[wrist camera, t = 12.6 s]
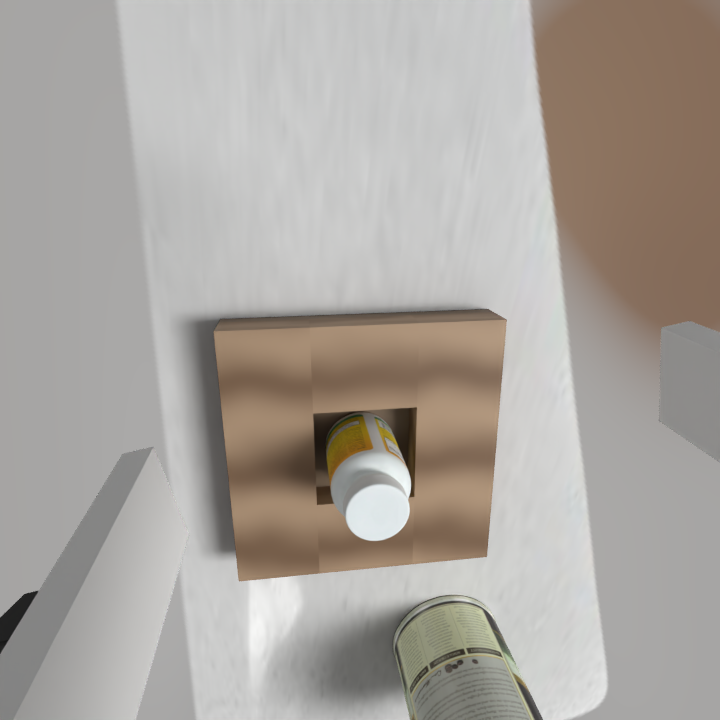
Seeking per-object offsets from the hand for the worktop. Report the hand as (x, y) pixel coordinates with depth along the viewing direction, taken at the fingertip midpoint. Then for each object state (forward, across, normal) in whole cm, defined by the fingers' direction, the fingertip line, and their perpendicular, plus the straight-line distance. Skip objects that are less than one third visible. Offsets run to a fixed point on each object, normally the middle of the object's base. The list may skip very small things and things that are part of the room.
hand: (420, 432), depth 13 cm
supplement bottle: (+24, -2, -14) cm, 27 cm away
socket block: (+24, -1, -14) cm, 28 cm away
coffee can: (+24, +2, -37) cm, 44 cm away
